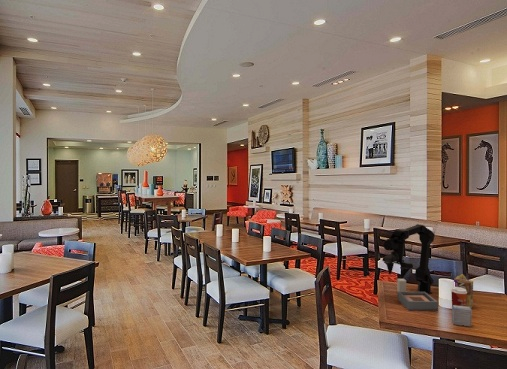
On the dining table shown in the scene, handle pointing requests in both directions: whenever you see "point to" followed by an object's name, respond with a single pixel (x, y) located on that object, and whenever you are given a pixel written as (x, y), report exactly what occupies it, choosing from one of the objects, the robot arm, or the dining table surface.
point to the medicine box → (461, 315)
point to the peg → (401, 285)
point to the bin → (417, 301)
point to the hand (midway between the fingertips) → (395, 276)
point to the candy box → (469, 288)
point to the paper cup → (458, 296)
